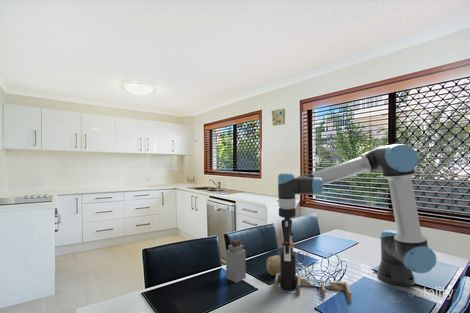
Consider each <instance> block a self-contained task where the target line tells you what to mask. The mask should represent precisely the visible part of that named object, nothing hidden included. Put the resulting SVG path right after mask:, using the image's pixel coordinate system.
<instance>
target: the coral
mask: <svg viewBox="0 0 470 313" xmlns="http://www.w3.org/2000/svg"><path fill="white" fill-rule="evenodd" d="M265 265H266V266H265V267H266V271H267V272H268V274H269V275H270V276H272V277H274V276H276V274H279V273H281V266H280V254H279V255H272V256H269V257H268V258H267V259H266V263H265Z"/></svg>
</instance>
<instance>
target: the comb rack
mask: <svg viewBox="0 0 470 313" xmlns="http://www.w3.org/2000/svg"><path fill="white" fill-rule="evenodd" d="M305 278H306V277H301V276H300V275H297V274H296V288H295V289H294V290H292V291H288V290H284V289H282V288H281V273H279V274H276V275H275V279H274V281H273V291H274V292H275V293H279V292H280V293H286V294H293V295H295V294H296V295H298V296H301V286H306V287H313V286H312V285H310V284H309V283H307V282H306V281H305ZM320 280H321V287H320V290H321V295H322V296H321V297H322V299H326V289H331V290H339V291H344V293H345V294H346V298H347V300H348V302H349V303H351V302H352V292H351V289H350V286H349V284H348V282H347V281H344V282H342V281H334V280H333V281H332V280H328V281H329V283H330V284H331V285H330V286H327V287H326V288H325V287H324V281H323V280H324V279H323V278H320Z"/></svg>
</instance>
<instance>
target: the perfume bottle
mask: <svg viewBox="0 0 470 313" xmlns="http://www.w3.org/2000/svg"><path fill="white" fill-rule="evenodd" d="M230 242H231V244H229V245H228V249H226V251H225V255H226V256H225V269H226V270H225V278H226V280H230V281H231V282H234V283H236V284H237V283H238V282H241V281H243V280H245V279H246V276H247V275H246V273H247V272H246V268H247V265H246V262H247V260H246V256H247V255H246V252H247V250H246V249H244V245H243V244H241V240H239V239H233V240H231V241H230Z"/></svg>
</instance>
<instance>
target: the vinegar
mask: <svg viewBox="0 0 470 313" xmlns="http://www.w3.org/2000/svg"><path fill="white" fill-rule="evenodd" d="M283 243H284V240H283V241H282V242H281V246H282V244H283ZM285 243H288V242H285ZM290 249H291V261H284V246H282V251H280V254H279V256H280V266H281V288H282V289H284V290H288V291H292V290H294V289H295V288H296V275H297V272H296V271H297V269H296V268H297V265H296V261H297V260H296V258H297V255H296V253H295V252H294V242H293V240H292V241H290Z"/></svg>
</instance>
